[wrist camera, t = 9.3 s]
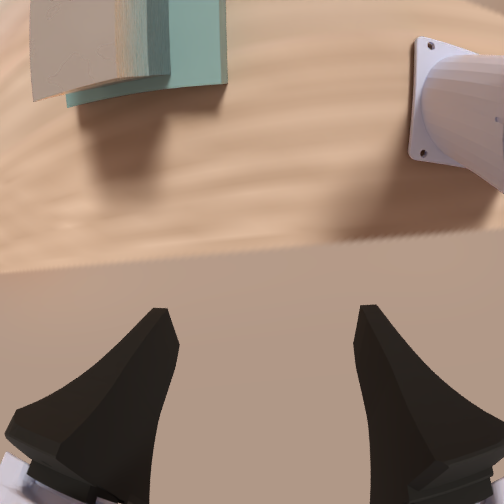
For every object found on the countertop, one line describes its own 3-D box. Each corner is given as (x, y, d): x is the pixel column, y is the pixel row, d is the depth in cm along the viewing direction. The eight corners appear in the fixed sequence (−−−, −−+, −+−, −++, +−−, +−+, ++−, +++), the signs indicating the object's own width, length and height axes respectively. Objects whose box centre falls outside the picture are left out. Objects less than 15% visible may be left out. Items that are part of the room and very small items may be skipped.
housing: (171, 74, 14) (117, 77, 9) (100, 87, 15) (33, 102, 10) (169, -48, 10) (120, -88, 5) (99, -28, 10) (36, -48, 5)
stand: (224, -59, 11) (218, -71, 9) (227, 83, 16) (221, 83, 14) (81, -23, 12) (64, -27, 10) (84, 103, 17) (67, 107, 15)
